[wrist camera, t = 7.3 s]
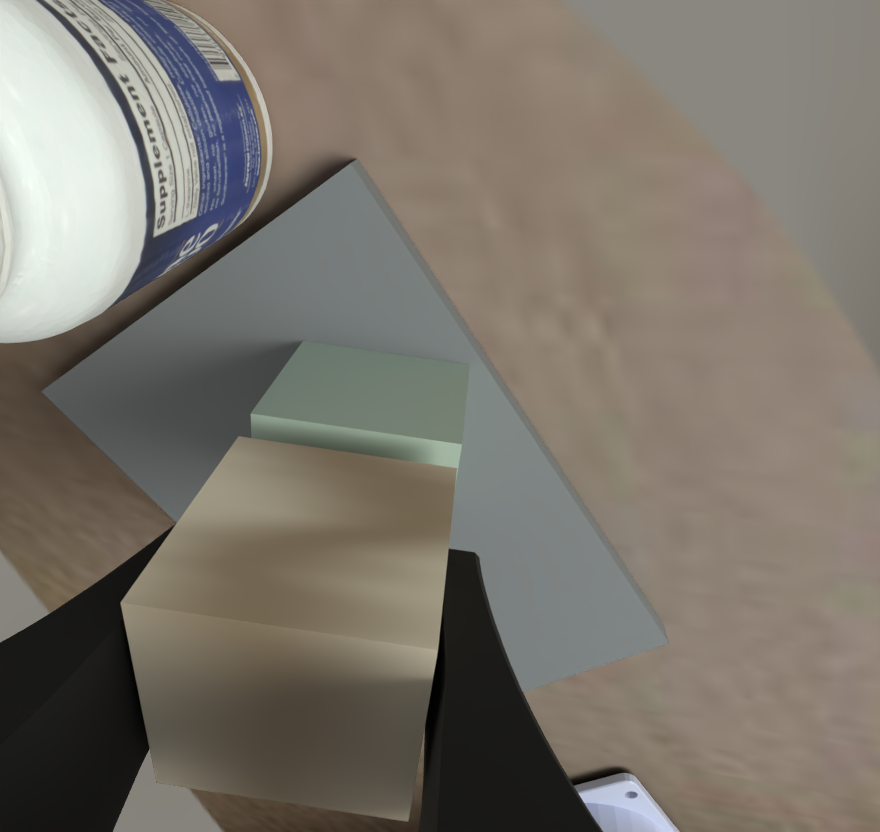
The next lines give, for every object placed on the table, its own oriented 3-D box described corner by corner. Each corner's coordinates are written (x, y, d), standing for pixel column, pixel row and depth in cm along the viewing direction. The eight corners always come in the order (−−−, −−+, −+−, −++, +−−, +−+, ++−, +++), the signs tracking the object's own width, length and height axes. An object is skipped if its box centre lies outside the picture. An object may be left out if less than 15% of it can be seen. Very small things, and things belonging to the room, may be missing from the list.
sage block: (470, 364, 16) (462, 444, 13) (448, 498, 19) (437, 597, 15) (303, 340, 16) (250, 413, 13) (302, 477, 19) (257, 570, 15)
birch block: (457, 467, 12) (437, 650, 8) (432, 621, 14) (408, 821, 11) (238, 436, 12) (119, 602, 8) (246, 594, 14) (156, 782, 11)
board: (663, 624, 21) (669, 643, 21) (397, 716, 25) (394, 734, 25) (357, 158, 15) (350, 163, 14) (57, 379, 19) (40, 391, 18)
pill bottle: (110, 252, 16) (-298, 444, 8) (19, 16, 14) (-725, -68, 5) (302, 230, 16) (76, 416, 7) (244, -24, 13) (-210, -189, 5)
